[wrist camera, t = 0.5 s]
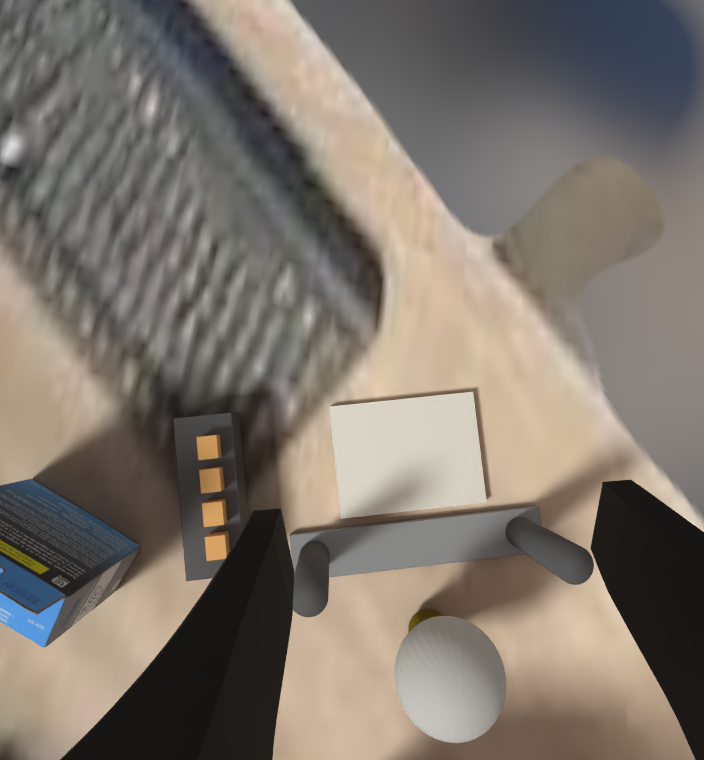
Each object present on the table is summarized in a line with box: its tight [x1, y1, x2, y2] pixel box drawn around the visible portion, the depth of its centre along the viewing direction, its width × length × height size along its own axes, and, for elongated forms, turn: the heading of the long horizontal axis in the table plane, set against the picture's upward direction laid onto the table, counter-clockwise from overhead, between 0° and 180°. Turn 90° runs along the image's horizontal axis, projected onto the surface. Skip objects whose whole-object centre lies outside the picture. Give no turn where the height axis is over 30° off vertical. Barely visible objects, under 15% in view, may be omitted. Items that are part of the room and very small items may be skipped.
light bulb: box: [395, 609, 506, 743], centre depth 30 cm, size 6×6×10 cm
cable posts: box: [290, 506, 594, 617], centre depth 31 cm, size 3×17×8 cm, turn 96°
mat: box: [330, 392, 487, 519], centre depth 35 cm, size 8×10×1 cm
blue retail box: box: [0, 479, 140, 647], centre depth 28 cm, size 9×4×12 cm, turn 59°
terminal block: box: [173, 413, 249, 581], centre depth 33 cm, size 10×4×4 cm, turn 6°
